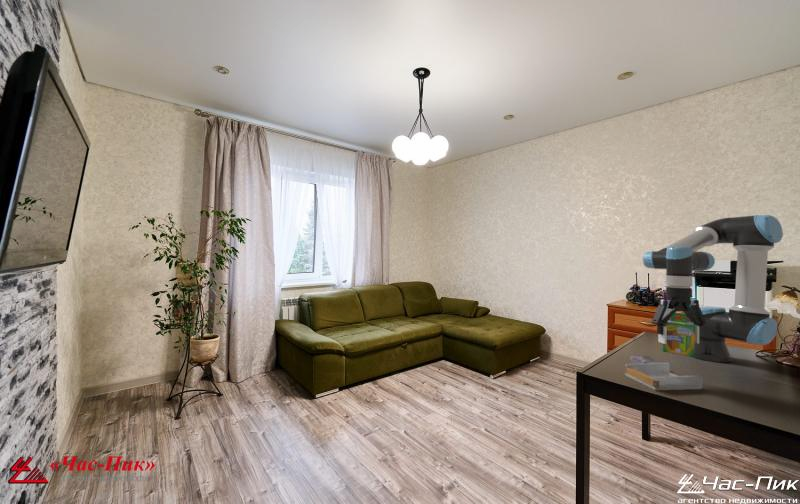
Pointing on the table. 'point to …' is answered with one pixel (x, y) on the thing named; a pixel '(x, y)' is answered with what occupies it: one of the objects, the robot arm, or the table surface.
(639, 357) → the rock
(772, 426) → the table surface
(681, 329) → the chalk box
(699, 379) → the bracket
